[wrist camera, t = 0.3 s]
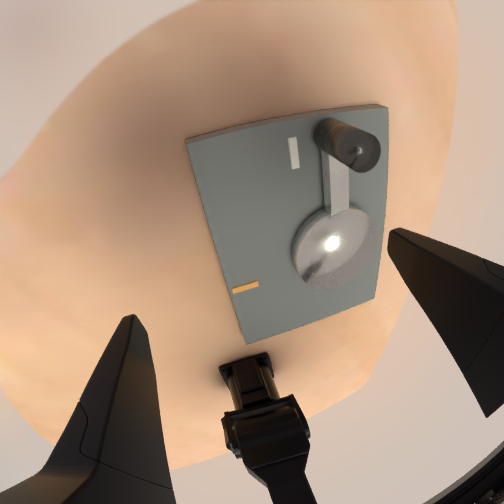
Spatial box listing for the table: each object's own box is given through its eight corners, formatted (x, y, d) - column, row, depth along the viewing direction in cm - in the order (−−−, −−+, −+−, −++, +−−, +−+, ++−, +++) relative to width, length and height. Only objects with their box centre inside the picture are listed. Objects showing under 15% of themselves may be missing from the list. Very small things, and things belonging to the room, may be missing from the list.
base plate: (368, 290, 35) (375, 299, 33) (242, 334, 33) (246, 345, 31) (377, 104, 21) (389, 107, 20) (185, 139, 20) (186, 144, 18)
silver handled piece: (366, 263, 29) (391, 293, 25) (295, 288, 28) (314, 324, 24) (371, 112, 20) (411, 126, 16) (274, 126, 19) (302, 143, 15)
